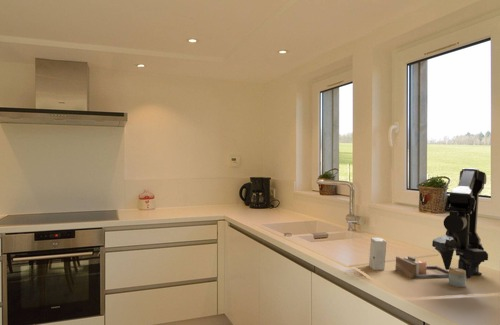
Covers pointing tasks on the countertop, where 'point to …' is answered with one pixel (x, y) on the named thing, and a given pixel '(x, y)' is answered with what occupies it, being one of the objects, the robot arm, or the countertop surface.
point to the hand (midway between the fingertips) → (457, 273)
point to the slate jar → (457, 277)
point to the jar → (422, 266)
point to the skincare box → (377, 253)
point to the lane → (409, 270)
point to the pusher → (414, 263)
